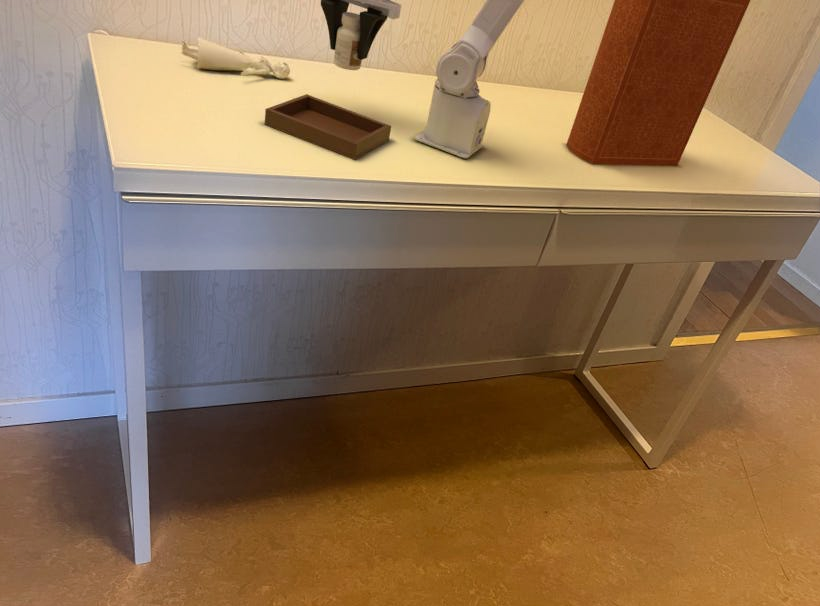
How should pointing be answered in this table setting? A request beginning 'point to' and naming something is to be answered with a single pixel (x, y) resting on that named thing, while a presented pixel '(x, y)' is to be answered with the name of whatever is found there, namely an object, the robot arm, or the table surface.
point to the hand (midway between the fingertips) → (348, 53)
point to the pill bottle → (348, 42)
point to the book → (652, 79)
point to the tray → (328, 125)
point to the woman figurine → (231, 60)
